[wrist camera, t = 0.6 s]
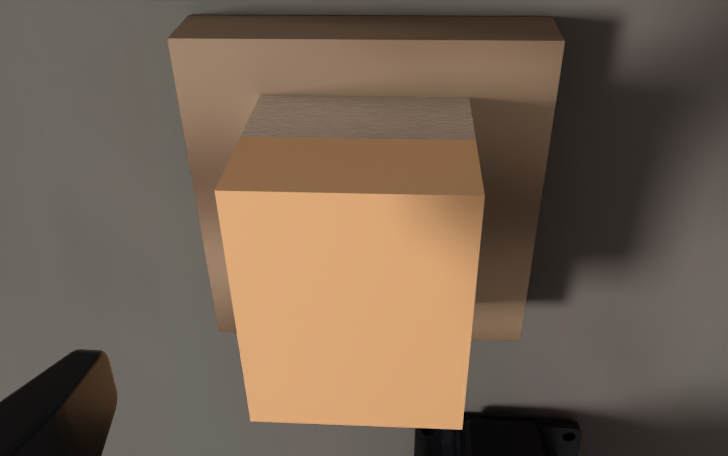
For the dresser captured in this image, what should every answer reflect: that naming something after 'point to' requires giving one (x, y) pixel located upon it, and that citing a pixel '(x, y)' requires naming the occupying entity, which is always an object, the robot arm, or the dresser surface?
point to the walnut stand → (384, 78)
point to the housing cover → (353, 277)
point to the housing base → (361, 117)
